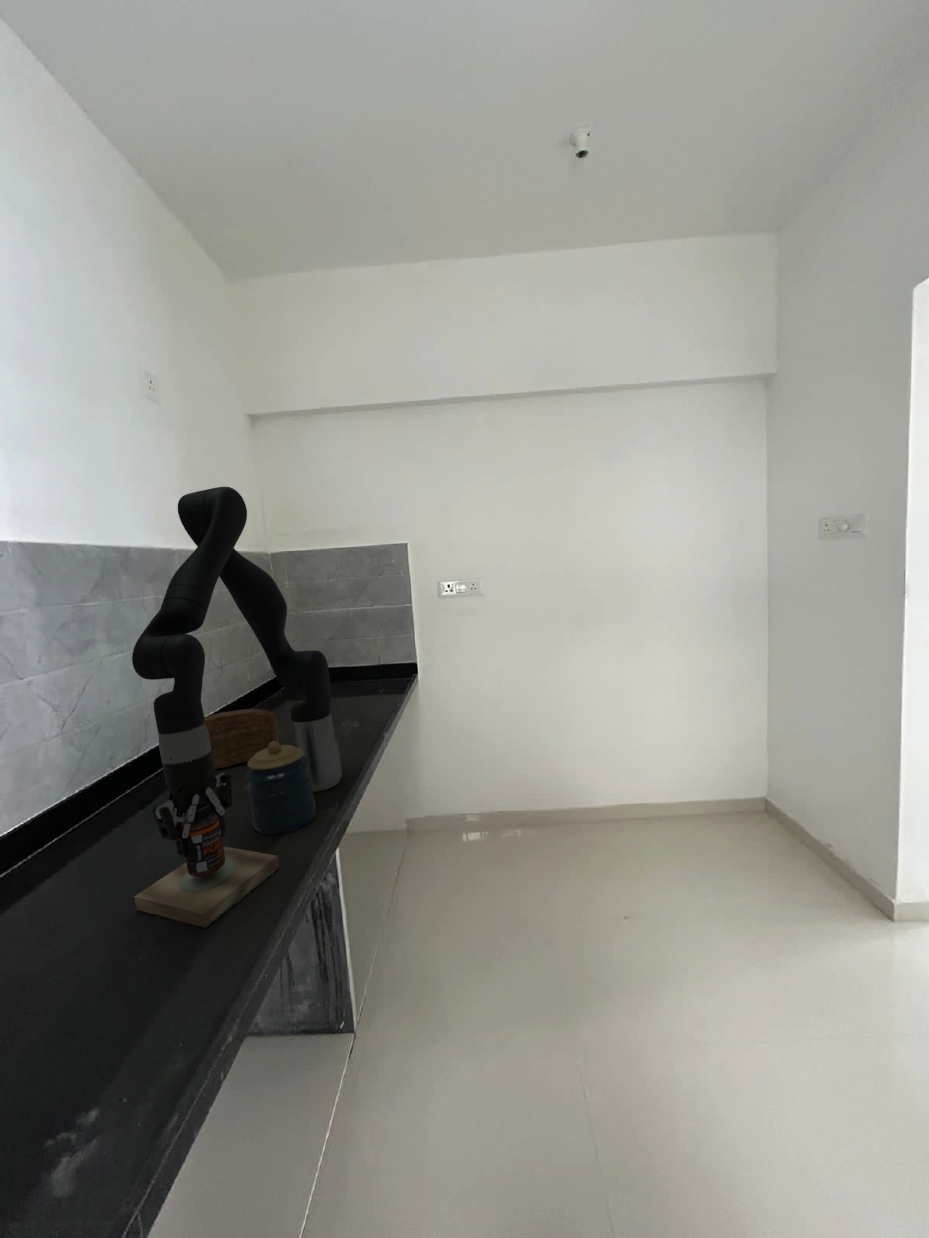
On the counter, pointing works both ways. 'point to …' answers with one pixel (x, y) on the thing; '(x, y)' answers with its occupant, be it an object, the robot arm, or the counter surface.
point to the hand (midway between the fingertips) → (203, 845)
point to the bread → (240, 735)
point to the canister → (280, 789)
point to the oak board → (206, 888)
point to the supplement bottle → (205, 843)
